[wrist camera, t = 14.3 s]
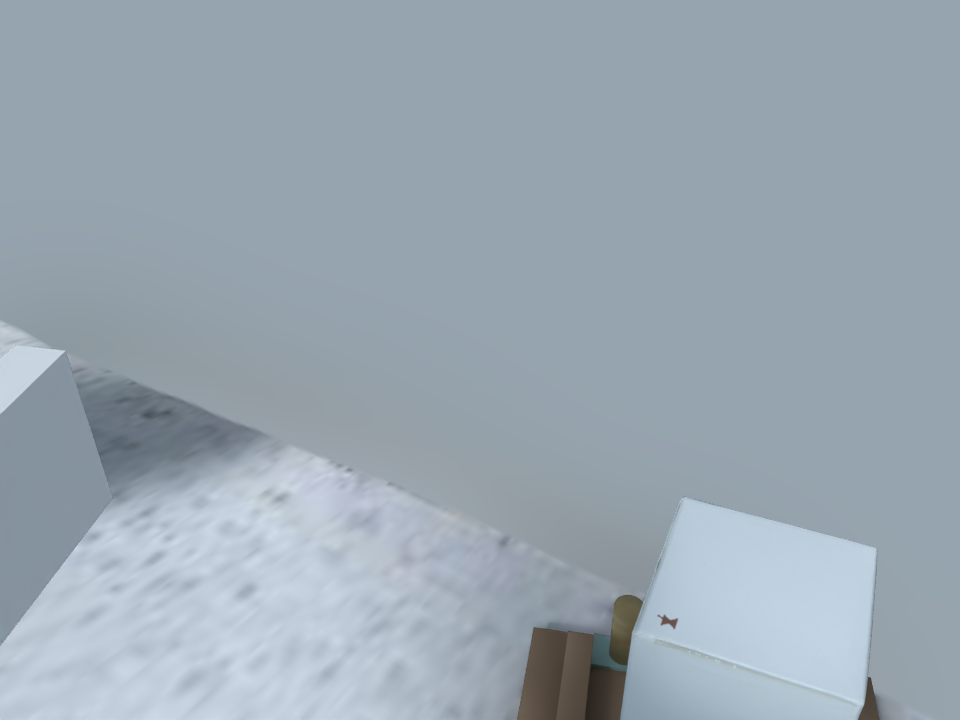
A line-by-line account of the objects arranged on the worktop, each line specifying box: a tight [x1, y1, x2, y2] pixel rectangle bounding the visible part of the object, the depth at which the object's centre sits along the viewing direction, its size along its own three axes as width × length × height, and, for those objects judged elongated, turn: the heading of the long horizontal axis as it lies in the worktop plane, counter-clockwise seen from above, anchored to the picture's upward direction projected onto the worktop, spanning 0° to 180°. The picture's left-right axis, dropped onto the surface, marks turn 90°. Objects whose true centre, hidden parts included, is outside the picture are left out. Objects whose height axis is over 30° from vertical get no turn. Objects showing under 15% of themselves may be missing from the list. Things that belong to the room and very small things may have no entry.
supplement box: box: [620, 497, 877, 720], centre depth 34 cm, size 7×7×13 cm
